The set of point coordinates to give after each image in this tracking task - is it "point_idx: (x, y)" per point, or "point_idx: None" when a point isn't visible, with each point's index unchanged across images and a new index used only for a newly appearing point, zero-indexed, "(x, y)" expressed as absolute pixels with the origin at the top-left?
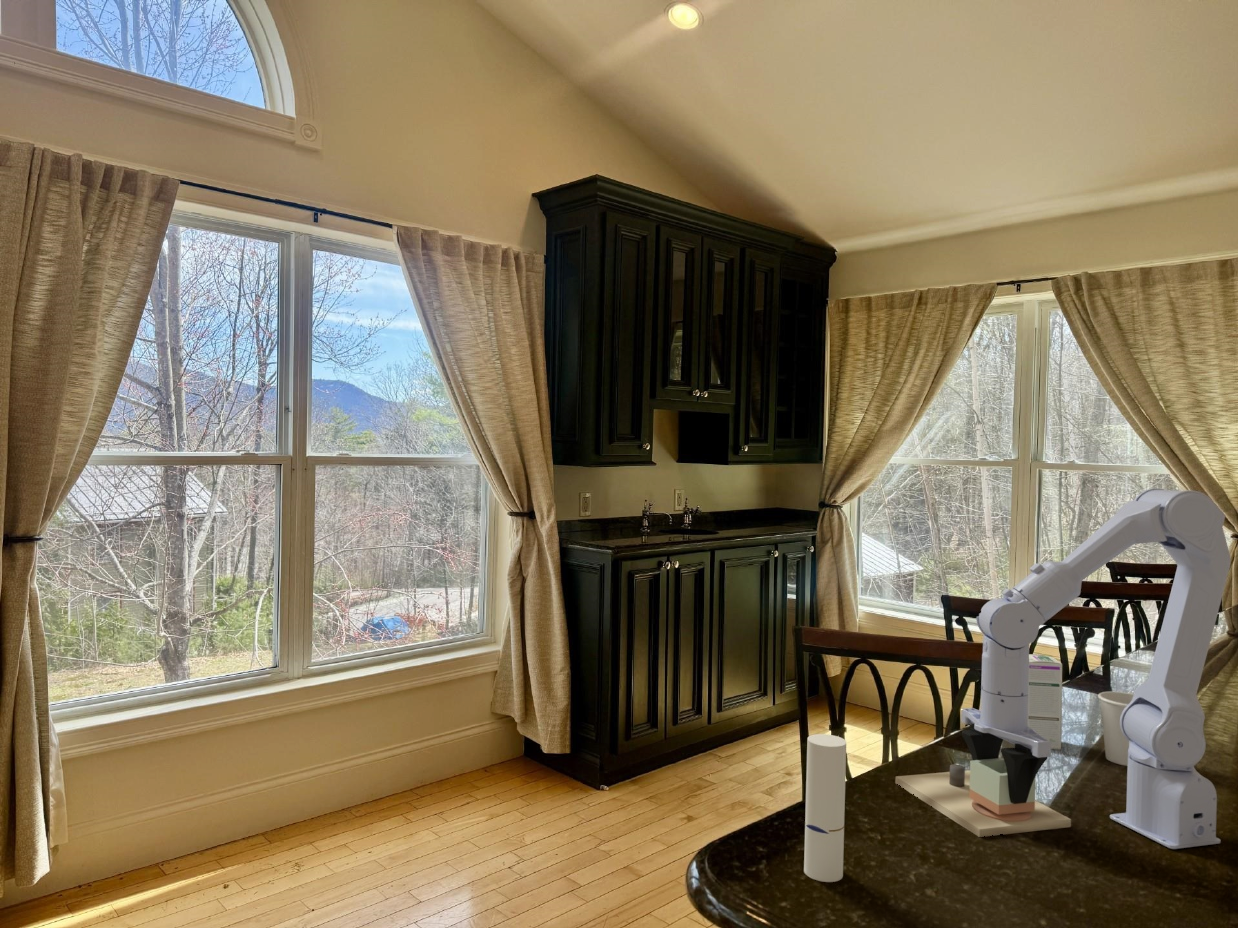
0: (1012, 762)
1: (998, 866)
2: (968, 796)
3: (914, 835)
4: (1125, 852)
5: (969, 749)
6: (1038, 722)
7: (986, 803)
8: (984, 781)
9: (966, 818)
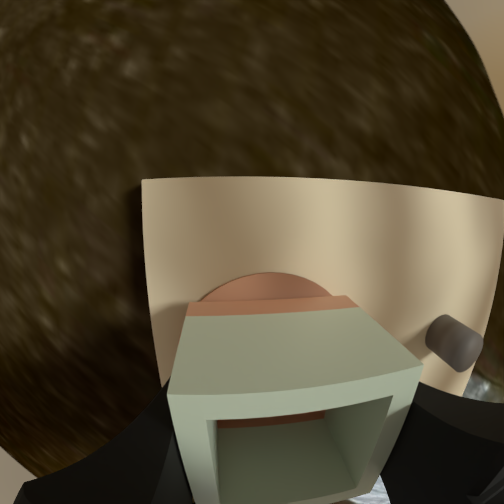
0: (56, 479)
1: (14, 131)
2: (377, 318)
3: (211, 9)
4: (71, 442)
5: (472, 400)
6: None
7: (255, 305)
8: (289, 345)
9: (230, 191)
